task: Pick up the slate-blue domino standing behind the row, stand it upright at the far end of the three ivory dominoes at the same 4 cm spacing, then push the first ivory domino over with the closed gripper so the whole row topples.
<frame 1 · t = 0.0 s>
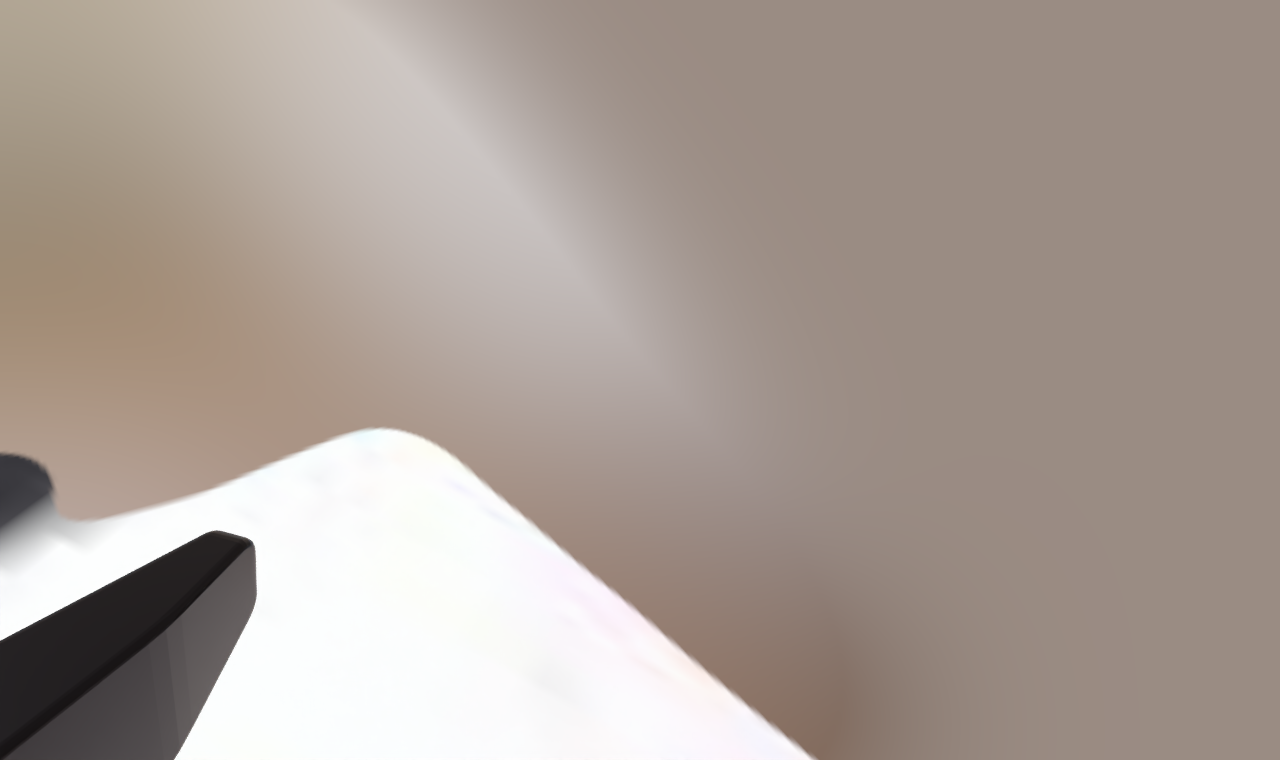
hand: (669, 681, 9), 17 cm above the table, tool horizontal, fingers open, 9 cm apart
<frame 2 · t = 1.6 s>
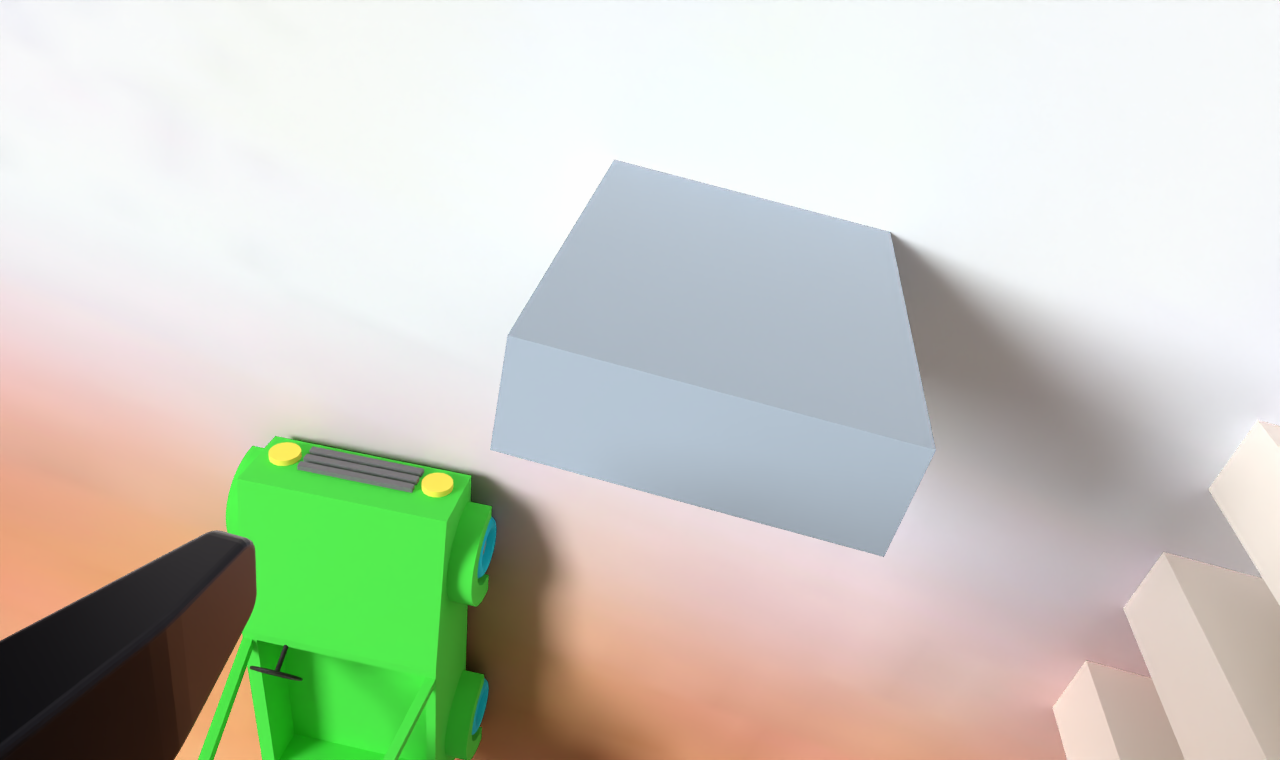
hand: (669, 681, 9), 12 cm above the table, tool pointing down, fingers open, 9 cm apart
tile 2: (1261, 612, 22), on the table
tile 1: (1177, 713, 24), on the table
toy car: (389, 583, 27), on the table
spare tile: (739, 238, 20), on the table
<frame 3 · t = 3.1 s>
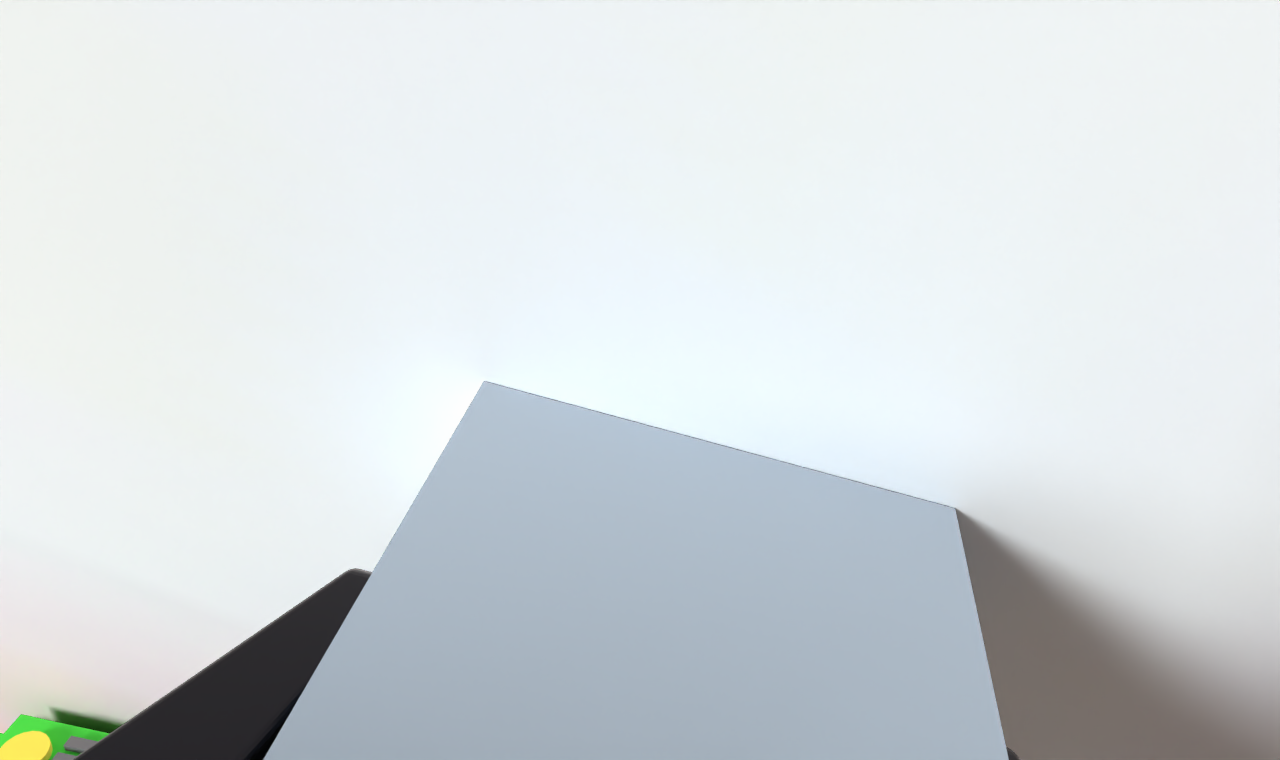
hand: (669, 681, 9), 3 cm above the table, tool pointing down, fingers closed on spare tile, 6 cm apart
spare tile: (698, 504, 12), on the table, touching gripper
when the fingers open (4 cm above the table, at t = 8.0 s): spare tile stays where it is, on the table.
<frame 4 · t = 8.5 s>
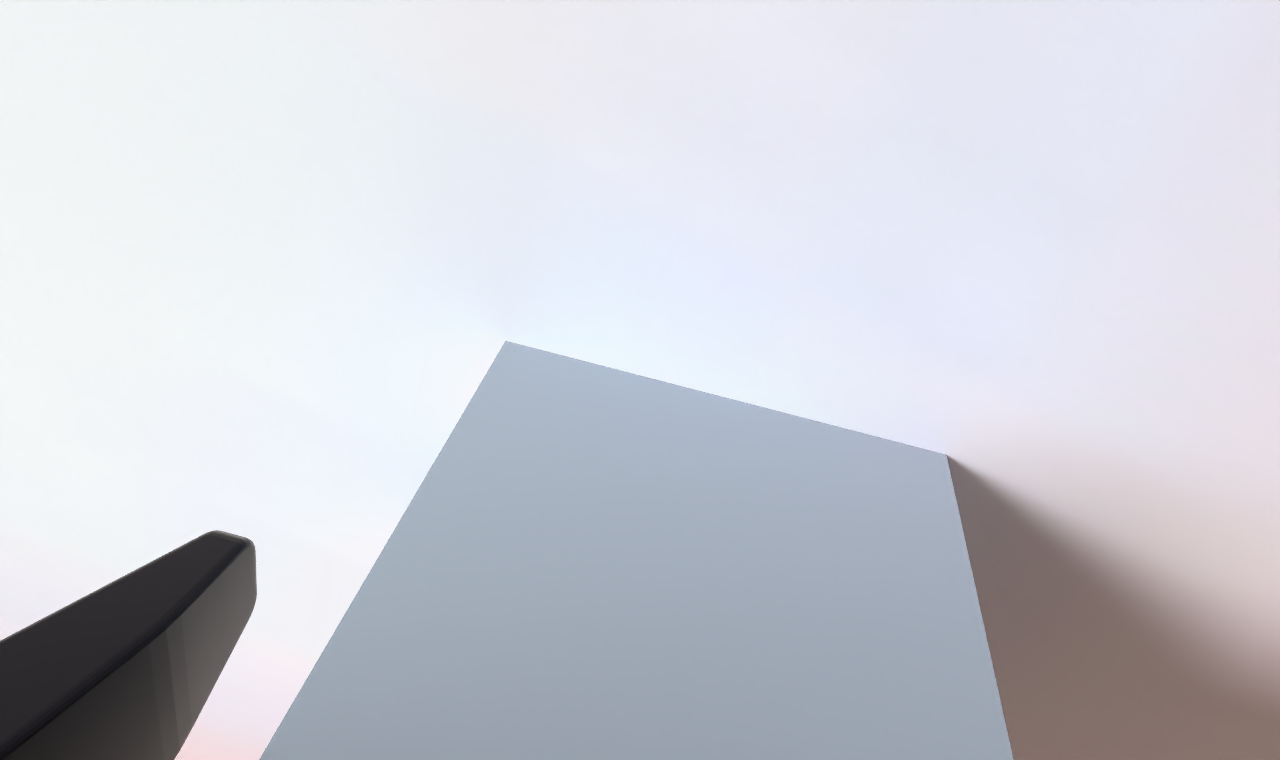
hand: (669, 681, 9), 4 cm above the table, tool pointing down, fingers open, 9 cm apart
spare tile: (706, 456, 12), on the table
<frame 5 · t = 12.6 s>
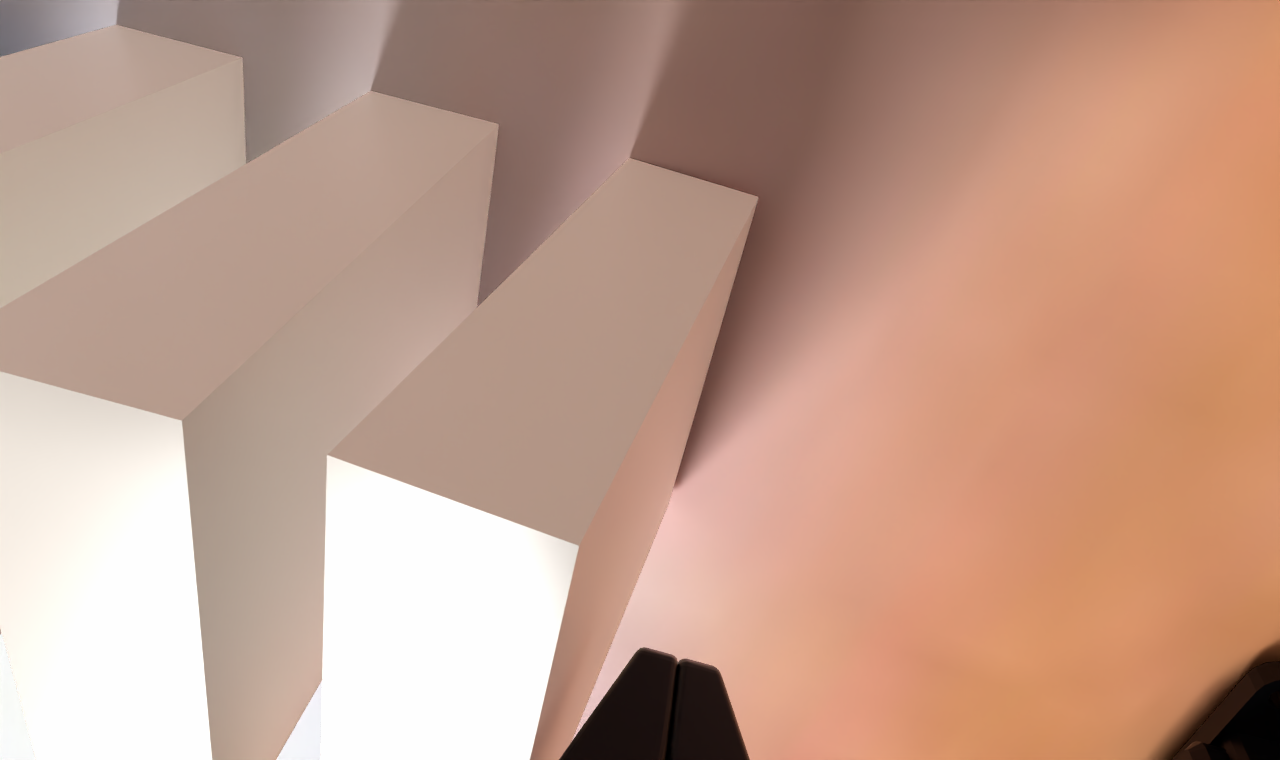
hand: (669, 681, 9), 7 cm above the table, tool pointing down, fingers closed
tile 2: (420, 283, 15), on the table
tile 1: (650, 348, 15), on the table, tilted 6°
tile 3: (192, 223, 15), on the table
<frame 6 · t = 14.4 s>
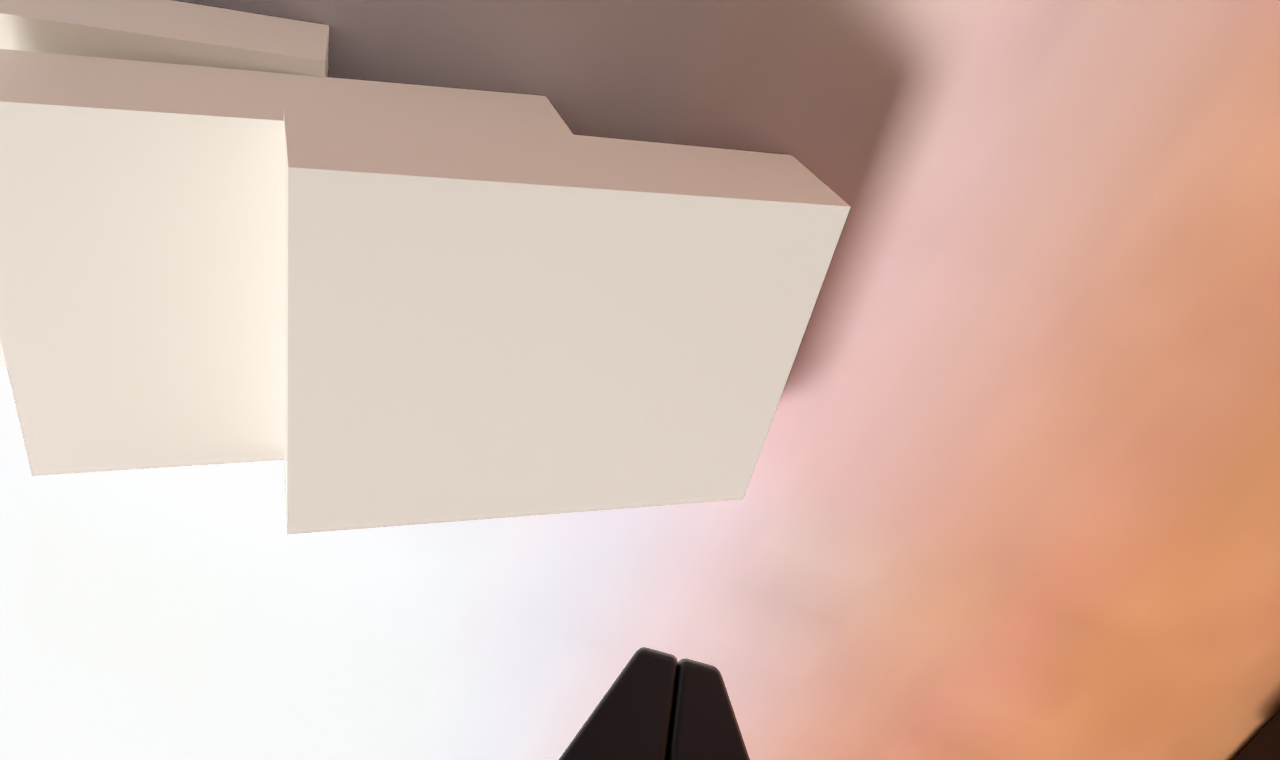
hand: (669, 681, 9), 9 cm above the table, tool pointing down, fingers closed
tile 2: (537, 279, 16), point 1 cm above the table, tilted 61°, touching tile 1, tile 3
tile 1: (766, 336, 16), point 1 cm above the table, tilted 61°, touching tile 2
tile 3: (322, 211, 16), point 1 cm above the table, tilted 67°, touching tile 2
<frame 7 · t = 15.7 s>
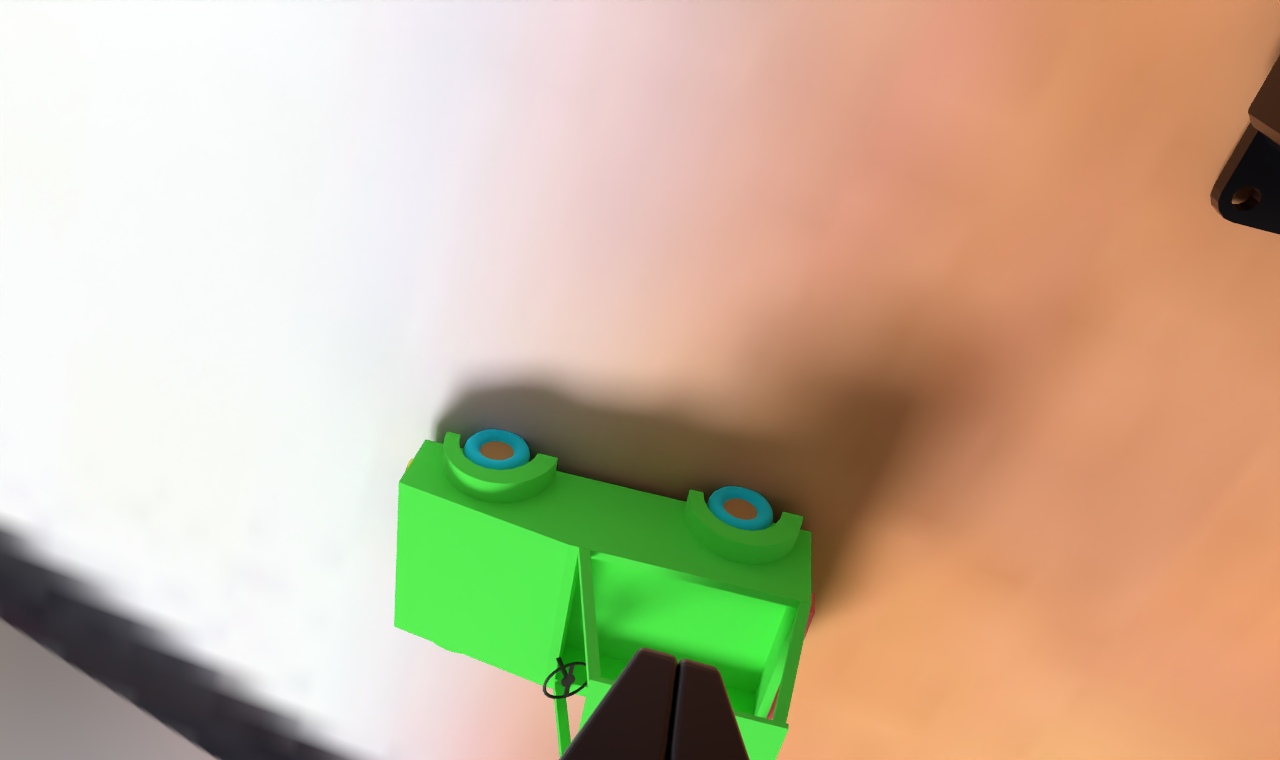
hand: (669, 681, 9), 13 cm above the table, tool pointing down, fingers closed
toy car: (607, 539, 26), on the table
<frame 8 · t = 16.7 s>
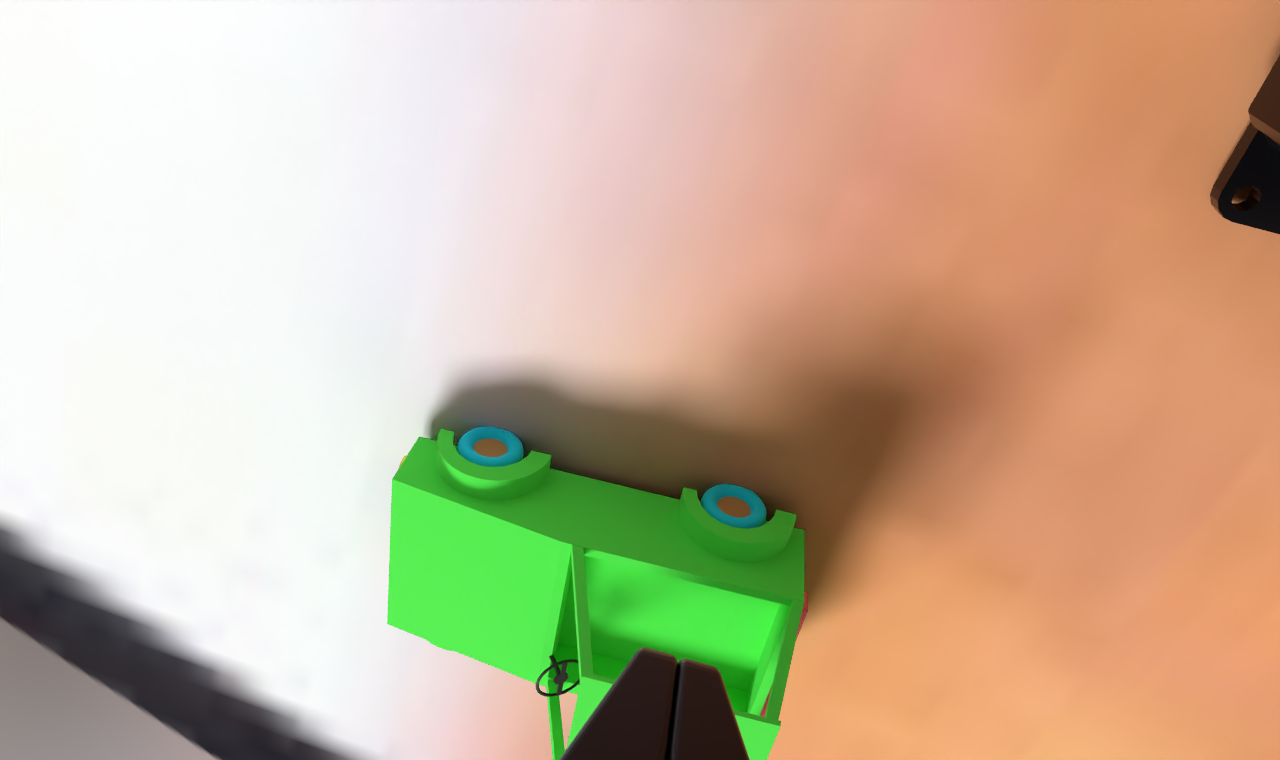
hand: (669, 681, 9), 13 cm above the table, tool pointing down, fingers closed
toy car: (600, 537, 26), on the table
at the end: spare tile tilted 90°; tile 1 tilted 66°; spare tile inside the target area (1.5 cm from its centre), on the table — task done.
